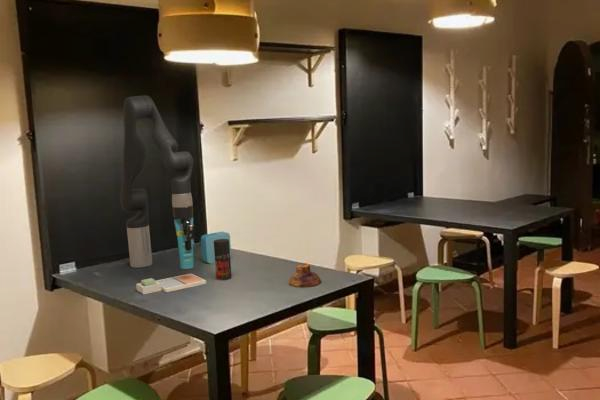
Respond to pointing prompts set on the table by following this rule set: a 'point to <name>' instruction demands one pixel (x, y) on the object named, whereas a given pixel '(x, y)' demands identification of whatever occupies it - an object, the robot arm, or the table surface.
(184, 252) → the tube
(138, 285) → the button frame
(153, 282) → the button
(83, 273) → the table surface
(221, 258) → the deodorant
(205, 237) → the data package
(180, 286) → the picture card
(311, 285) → the bell
